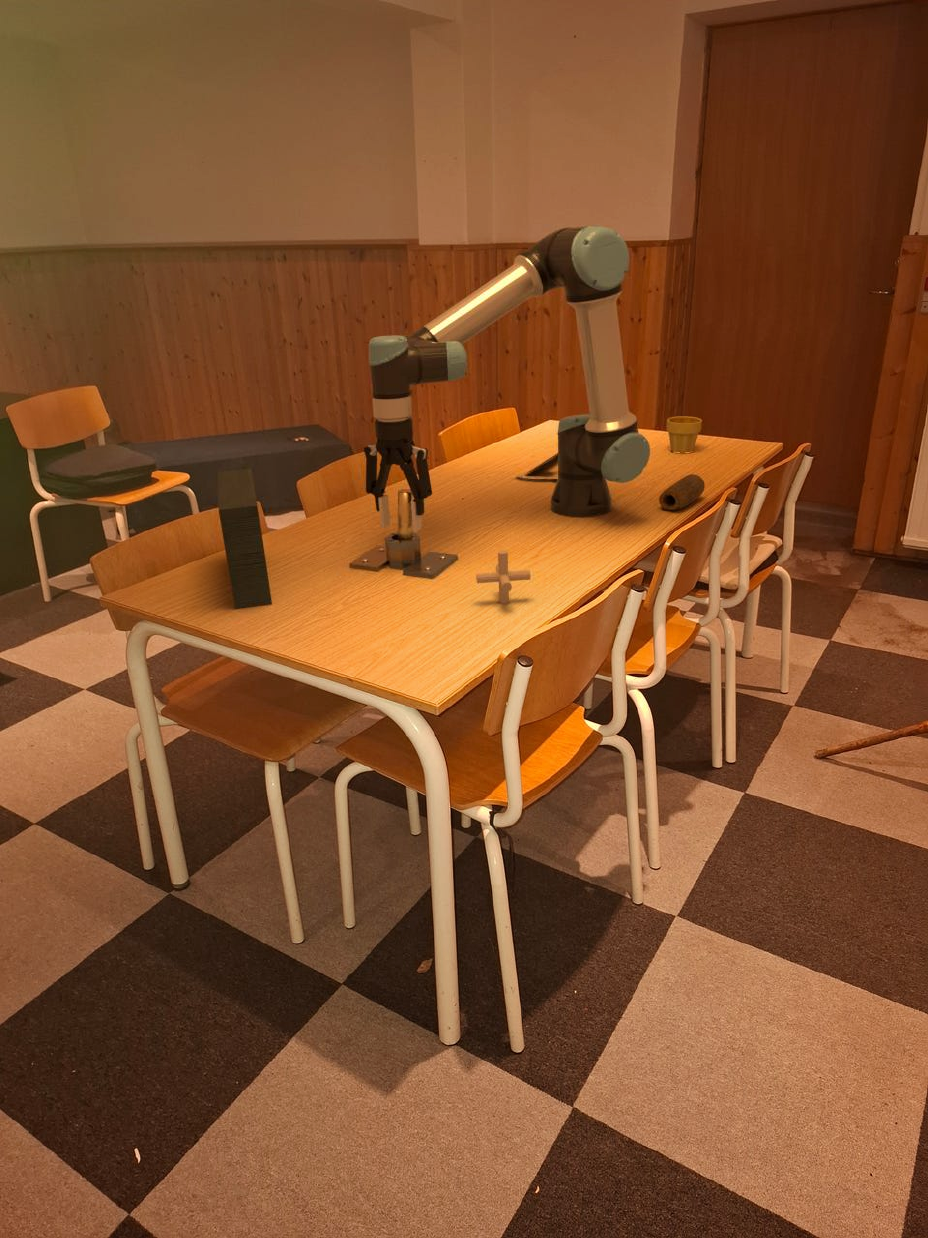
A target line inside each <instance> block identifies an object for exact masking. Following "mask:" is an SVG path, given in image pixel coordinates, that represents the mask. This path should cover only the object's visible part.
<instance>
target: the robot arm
mask: <svg viewBox="0 0 928 1238" xmlns="http://www.w3.org/2000/svg"><path fill="white" fill-rule="evenodd" d="M629 268H630V252H629V249H628V246H627V243H626V241H625V239H624V238H623V237H622V236H621V234H619V233H618V232H617V231H615V229H613V228H610V227H606V226H600V225H589V226H588V225H586V226H577V227H576V226H575V227H563V228H560V229H557V230H554V231H553V232H551V233H549V234H548V235H546V236H545V237H543V238H541V239H540V240H538V241H537V242H536V243H534V244H533V245H531V246H530V247H529V248H527V249H526V250H524V251H523V252H522V253H520V254H518V255H517V256H516V257H515V258H514V261H513V265H511V266H510V267H508V268H506V270H504V271H502V272H501V273H499V274H498V275H496V276H495V277H494V278H492V279H491V280H489V281H488V282H486V283H485V284H483V285H482V286H480V287H479V288H477V289H476V290H475V291H473V292H472V293H471V294H469V295H468V296H466V297H464V298H463V299H462V300H460V301H459V302H457V303H455V304H454V305H453V306H451V307H450V308H448V309H447V310H446V311H444V312H443V313H441V314H440V315H438V316H437V317H435V318H434V319H433V320H431V321H429V322H428V323H426V324H425V325H424V326H422V327H420V328H419V329H418V330H416V331H415V332H413V333H411V334H410V335H396V334H395V335H382V336H381V335H379V336H376V337H372V338H371V339H370V340H369V343H368V365H369V373H370V381H371V390H372V391H371V393H372V407H373V409H372V410H373V417H374V418H375V420H374V430H375V431H374V432H375V437H376V443H375V444H369V445H366V446H365V447H364V448H363V452H364V455H365V464H366V465H365V492H366V493H367V494H371V495H373V496H374V499H375V501H374V502H375V510H376V511H377V512H379V520H380V521H379V523H380V529H385V528H387V527H389V526H390V525H391V518H390V517H391V516H390V507H389V505H390V504H389V494H385V493H386V492H387V491H386V488H387V484H388V479H389V476H390V471H391V468H392V466H393V465H395V466H399V468H400V469H401V471H403V475H404V477H405V479H406V481H407V484H408V486H409V490H411V492H412V495H413V500H412V501H411V511H412V532H414V533H417V532H418V531H420V530H421V529H423V523H422V518H423V517H422V516H423V515H424V514H425V500H426V499H427V498H429V497H431V496H432V495H433V489H432V482H431V477H430V472H429V465H428V460H427V459H428V454H429V449H428V448H427V447H424V448H421V447H418V446H416V445H415V443H414V439H413V438H414V429H413V419H412V418H411V415H412V413H413V411H412V399H411V397H412V396H411V386H416V385H423V384H431V383H432V384H433V383H442V382H447V383H450V382H453V381H456V380H457V381H458V380H461V379H462V378H464V376H465V375H466V373H467V371H468V370H467V368H468V355H467V352H466V350H465V347H464V345H463V344H465V343H466V342H468V341H469V340H470V339H472V338H474V337H475V336H476V335H478V334H479V333H480V332H482V331H484V330H485V329H486V328H488V327H490V326H491V325H493V323H495V322H496V321H498V320H499V319H501V318H502V317H504V316H505V315H507V314H508V313H509V312H511V311H513V310H514V309H516V308H517V307H519V306H520V305H521V304H523V303H525V302H526V301H527V300H529V299H530V298H532V297H534V298H540V297H541V296H543V295H544V294H546V293H548V292H549V291H552V290H555V289H557V288H558V289H559V288H564V292H565V298H566V303H567V304H568V305H569V306H571V308H573V309H574V310H575V317H576V325H577V332H578V337H579V338H578V339H579V347H580V352H581V354H580V355H581V359H582V367H583V374H584V381H585V388H586V390H585V391H586V396H587V403H588V411H589V413H586V414H585V413H583V414H576V415H574V414H573V415H568V416H565V417H562V418H561V419H560V420H559V421H558V426H557V433H556V434H557V453H558V455H557V478H556V479H557V480H556V483H555V486H554V489H553V492H552V495H551V498H550V510H551V511H552V512H554V513H556V514H559V515H562V516H567V517H579V518H580V517H595V516H599V515H603V514H606V513H609V512H610V511H611V510H612V504H613V503H612V501H613V500H612V495H611V493H610V488H609V485H608V483H607V481H608V482H615V483H617V484H618V483H619V484H625V483H630V482H631V481H634V480H635V479H636V478H638V477H639V476H641V474H642V473H643V471H644V469H645V468H646V467H647V465H648V463H649V460H650V455H651V447H650V443H649V441H648V439H647V438H646V437H645V435H643V434H642V433H639V427H638V420H637V419H638V418H637V416H636V415H635V414H634V413H632V412H630V410H629V403H628V401H629V400H628V392H627V386H626V376H625V375H626V374H625V369H624V367H625V366H624V361H623V359H624V358H623V351H622V349H623V348H622V342H621V333H620V332H621V331H620V325H619V324H620V323H619V316H618V309H617V299H618V298H619V297H620V296H621V294H622V293H623V288H622V287H623V286H622V282H623V281H624V279H625V277H626V273H627V272H628V271H629ZM378 453H379V456H380V457H381V459H380V462H379V470H378ZM413 455H414V459H415V463H416V469H415V467H414V465H415V464H414V460H413V458H412V456H413ZM416 470H417V472H416ZM378 471H379V472H378Z"/></svg>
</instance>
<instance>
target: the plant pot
mask: <svg viewBox="0 0 928 1238" xmlns="http://www.w3.org/2000/svg"><path fill="white" fill-rule="evenodd" d="M702 423H703V420H702V419H701V418H699V417H695V416H687V415H685V416H681V415H680V416H679V415H677V416H672V417H668V418H667V419H666V432H668V439H669V447H670V452H671V451H674V452H680V453H685V452H691V451H693V452H694V448H695V446H696V442H697V439H698V436H699V433H700V432H701V430H702V425H703V424H702ZM691 453H692V452H691Z"/></svg>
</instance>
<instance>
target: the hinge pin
mask: <svg viewBox="0 0 928 1238" xmlns="http://www.w3.org/2000/svg"><path fill="white" fill-rule="evenodd" d="M412 500H414V497H413V495H412V492H411V490H410V488H402V489H398V490H397V532H398V540H399V541H402V540H409V539H411V538H412V532H413V525H412V511H411V501H412Z"/></svg>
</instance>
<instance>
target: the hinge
mask: <svg viewBox="0 0 928 1238" xmlns="http://www.w3.org/2000/svg"><path fill="white" fill-rule="evenodd" d="M384 542H385V543H384V544H385V545H378V544H377V545H376V546H374V547H373V548H371V549H369V550H368V551H366V552H365V553H363V554H362V555H360V556H358V557H357V558H355V559H354V560H352V561H351V562H349V563H348V566H349V568H350V569H356V570H363V571H372V572H380V571H381V570H382V569H384V568H385V567H387V566H388V567H389V568H390V569H394V570H402V576H410V577H417V578H424V579H429V580H430V579H431V580H434V579H435V578H436V577H438V576H439V575H440V574H441V573H443V572H444V571H446V570H447V569H448V568H449V567H450V566H452V565H453V564H454V563H455V562H457V561H458V560H459V555H458V554H454V553H453V554H452V553H445V552H438V551H437V552H435V551H427V552H426V553H424V554H423V555H421V554H422V553H421V552H422V551H421V539H420V535H418V533H417V532H413V531H412V538H411V539H409V540H402V541H399V540H398V531H397V532H391V533H389V534H388V535H386V536H385V537H384Z"/></svg>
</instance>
